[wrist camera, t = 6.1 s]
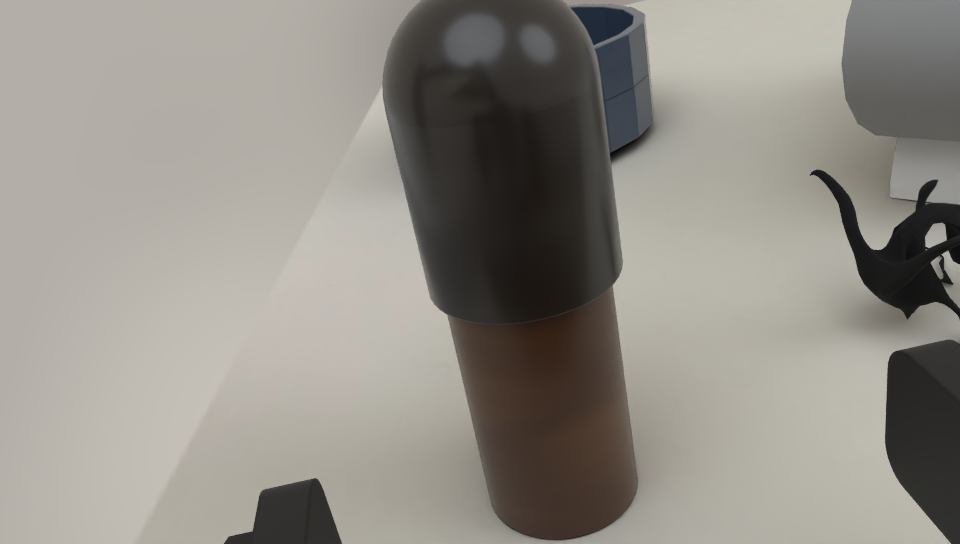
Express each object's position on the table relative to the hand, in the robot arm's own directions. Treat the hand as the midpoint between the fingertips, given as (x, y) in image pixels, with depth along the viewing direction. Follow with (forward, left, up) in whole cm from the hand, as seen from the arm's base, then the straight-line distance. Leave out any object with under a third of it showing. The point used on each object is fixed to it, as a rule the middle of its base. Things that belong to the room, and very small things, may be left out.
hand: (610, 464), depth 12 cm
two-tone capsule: (0, +9, -8) cm, 12 cm away
